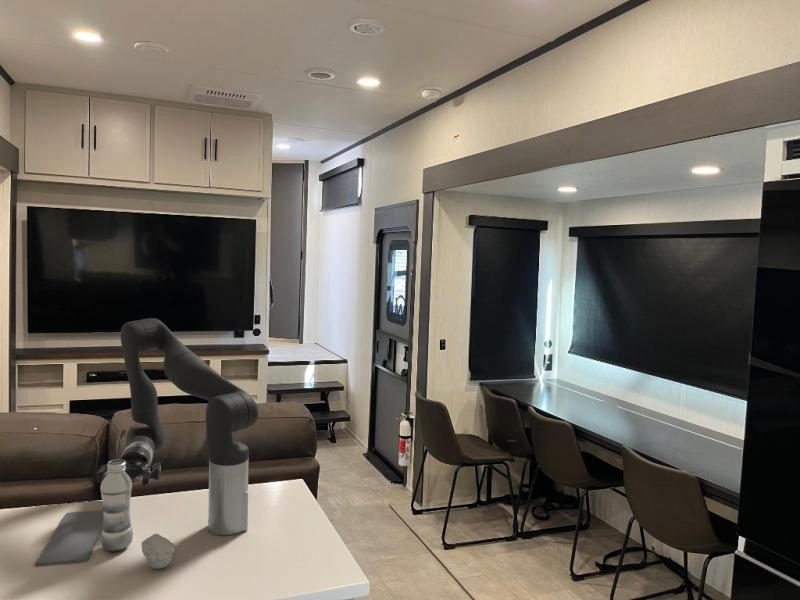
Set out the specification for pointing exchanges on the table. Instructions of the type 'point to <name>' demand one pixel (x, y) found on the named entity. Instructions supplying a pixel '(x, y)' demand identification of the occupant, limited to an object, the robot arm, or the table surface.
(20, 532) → the table surface
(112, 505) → the plastic bottle
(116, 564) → the table surface
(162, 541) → the grey cupcake
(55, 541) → the charcoal rubber mat
